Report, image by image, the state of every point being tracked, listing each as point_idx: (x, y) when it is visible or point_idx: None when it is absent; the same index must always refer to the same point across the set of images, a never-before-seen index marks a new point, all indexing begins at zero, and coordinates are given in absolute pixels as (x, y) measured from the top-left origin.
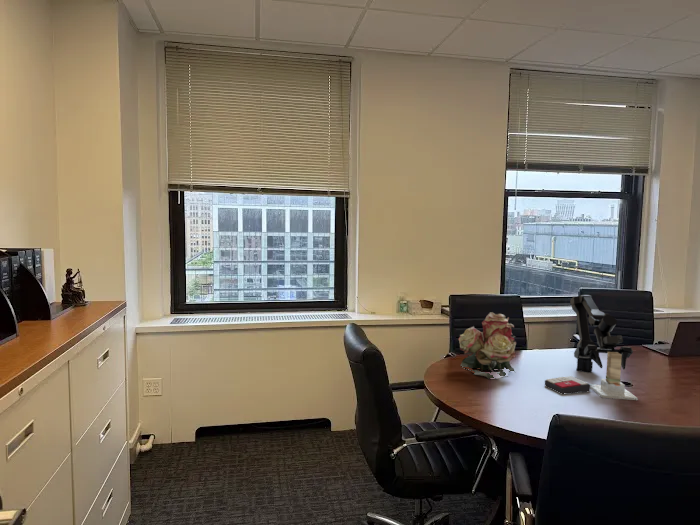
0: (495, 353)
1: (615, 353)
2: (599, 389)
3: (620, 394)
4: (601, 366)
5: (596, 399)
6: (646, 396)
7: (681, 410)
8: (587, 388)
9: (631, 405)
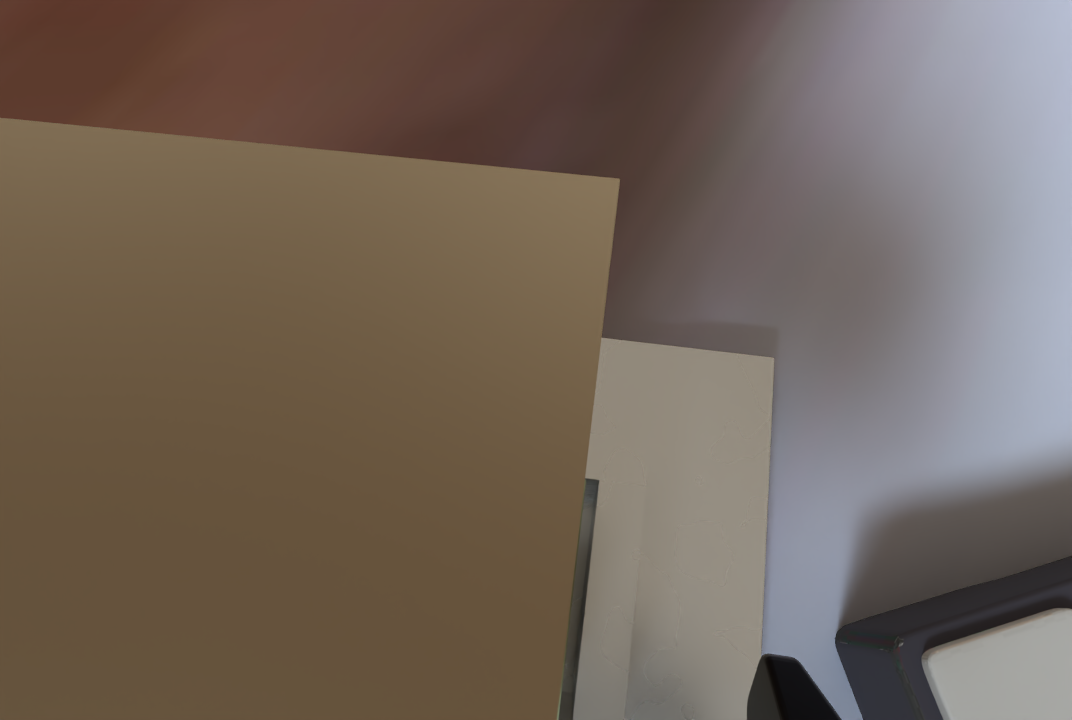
0: None
1: (67, 453)
2: (680, 635)
3: None
4: (803, 672)
5: (872, 305)
6: None
7: (26, 60)
8: (911, 615)
9: (508, 147)
